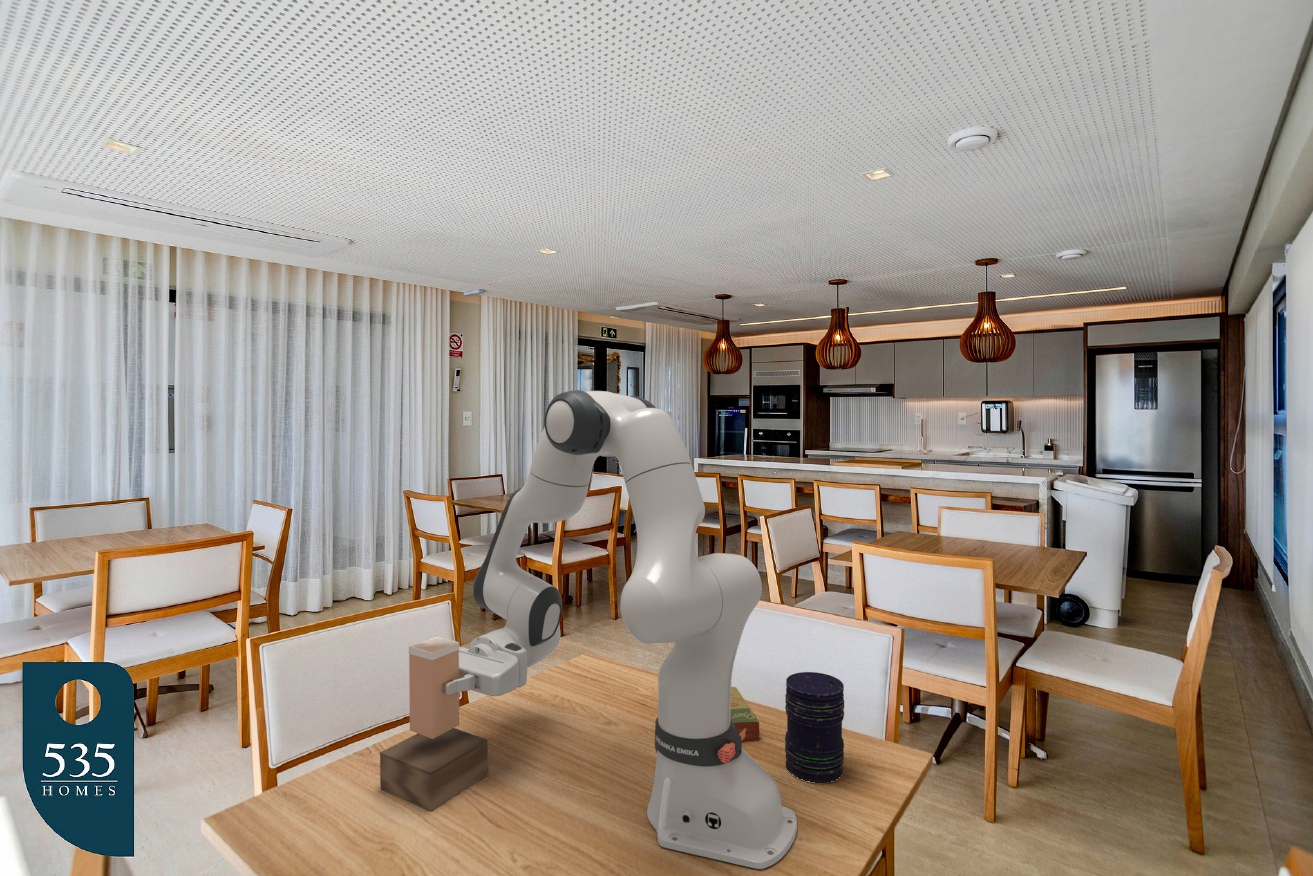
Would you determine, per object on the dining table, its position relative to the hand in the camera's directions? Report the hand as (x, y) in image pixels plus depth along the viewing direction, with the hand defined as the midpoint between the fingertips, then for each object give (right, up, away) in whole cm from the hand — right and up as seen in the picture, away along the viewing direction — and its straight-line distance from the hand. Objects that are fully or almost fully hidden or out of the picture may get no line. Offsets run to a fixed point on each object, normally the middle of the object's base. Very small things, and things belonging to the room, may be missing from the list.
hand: (430, 685), depth 107 cm
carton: (+51, -17, +22) cm, 58 cm away
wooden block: (0, -16, +1) cm, 17 cm away
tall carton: (0, -7, +1) cm, 8 cm away
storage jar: (+64, -17, +5) cm, 67 cm away
